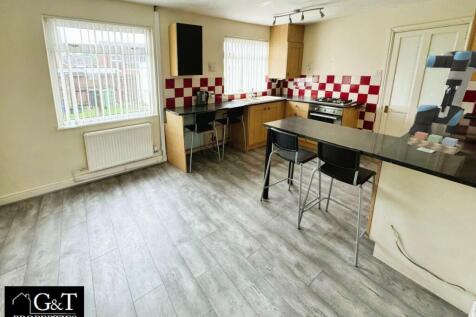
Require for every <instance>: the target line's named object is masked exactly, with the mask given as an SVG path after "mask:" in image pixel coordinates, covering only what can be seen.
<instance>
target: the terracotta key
mask: <svg viewBox="0 0 476 317" xmlns="http://www.w3.org/2000/svg"><path fill="white" fill-rule="evenodd" d="M428 134H429V133H424V132H416V133H415V135H413V136H414V139H418V140H423V141H425V140H427V138H428Z"/></svg>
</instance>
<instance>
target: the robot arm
mask: <svg viewBox="0 0 476 317" xmlns="http://www.w3.org/2000/svg"><path fill="white" fill-rule="evenodd" d="M425 68H430V69H449V72H448V74H447V79H446V82H445V86H448V87H447V88H446V89H445V90H444V95H443V98H442V101H441V103H440V105H438V104H424V105H423V104H422V105H419V106H418V108H417V111H416V115H415V117H414V122H413V124H412V126H411V127H410V128H409V130H408V132H407V133H408V134H410V135H413V136H415V133H416V132H424V133H429V134H428V137H429V135H431V134H433V130H432V129H433V128H432V126H433V124H439V125H445V126H447V125H452V126H454V125H456V124H457V123H458V121H459V120H460V118H461V116H462V114H463V115H464V113H465V110H464V111H463V110H462V108H463V107H462V102H463V100H464V97H465V95H466V94H465V93H466V92H467V89H468V86H469V83H470V81H471V78H472V77H473V73H476V50H453V51H452V50H451V51H447V52H444V53H442V54H440V55H429V56H428V57H427V59H426V61H425ZM463 112H464V113H463ZM462 117H463V116H462ZM428 137H427V138H428Z"/></svg>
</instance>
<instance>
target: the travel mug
mask: <svg viewBox="0 0 476 317" xmlns="http://www.w3.org/2000/svg"><path fill="white" fill-rule="evenodd" d="M462 110H463V111H464V112H463V114H462V116H461V118H460V120H459V121H458V123H457V124H456V125H454V126H452V125H446V127H445V131H444V132H445V133H446V134H448V133H449V134H457V131H458V129H459V126H460V124H461V121H462V119H463V116H464V113H465V110H466V109H465V108H463V107H462Z"/></svg>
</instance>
